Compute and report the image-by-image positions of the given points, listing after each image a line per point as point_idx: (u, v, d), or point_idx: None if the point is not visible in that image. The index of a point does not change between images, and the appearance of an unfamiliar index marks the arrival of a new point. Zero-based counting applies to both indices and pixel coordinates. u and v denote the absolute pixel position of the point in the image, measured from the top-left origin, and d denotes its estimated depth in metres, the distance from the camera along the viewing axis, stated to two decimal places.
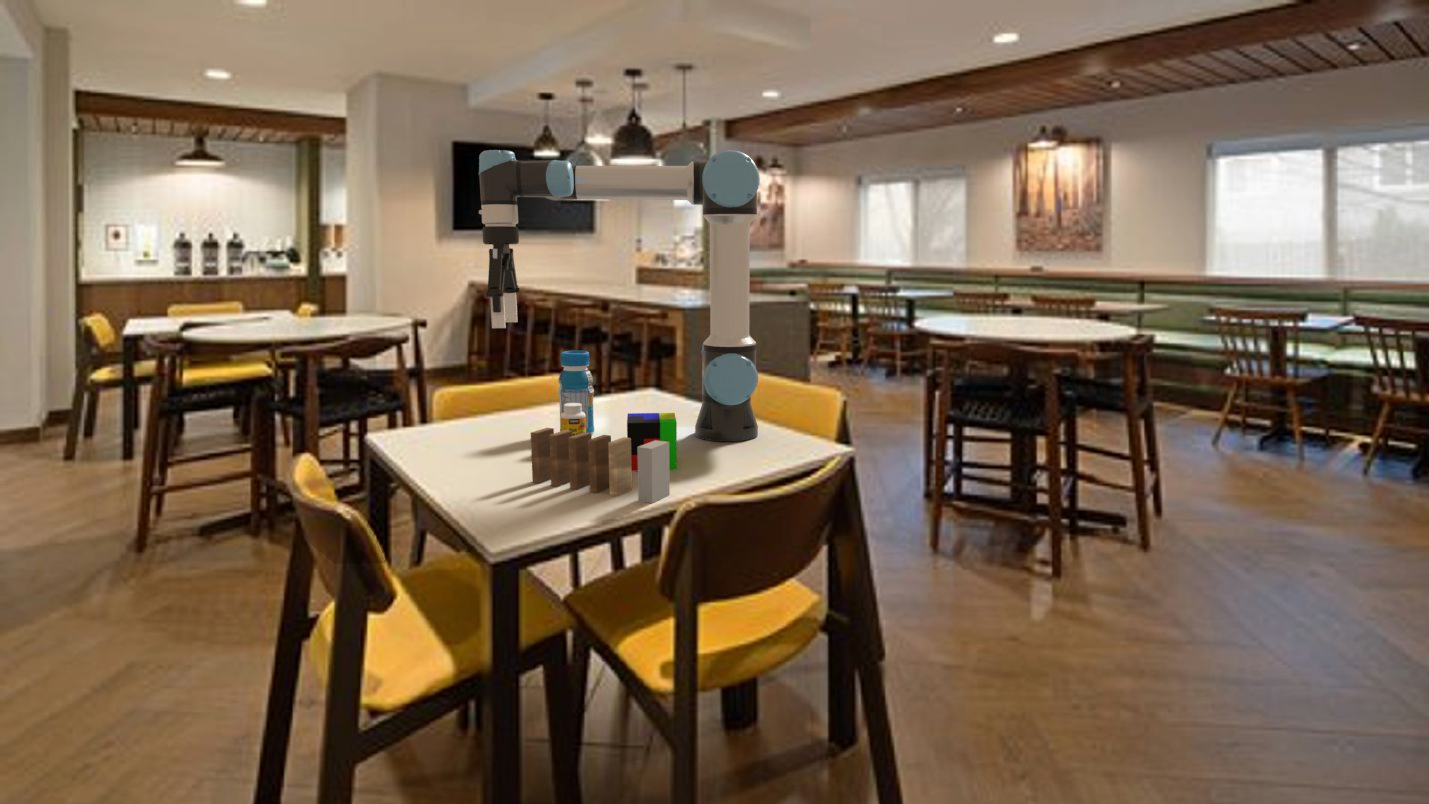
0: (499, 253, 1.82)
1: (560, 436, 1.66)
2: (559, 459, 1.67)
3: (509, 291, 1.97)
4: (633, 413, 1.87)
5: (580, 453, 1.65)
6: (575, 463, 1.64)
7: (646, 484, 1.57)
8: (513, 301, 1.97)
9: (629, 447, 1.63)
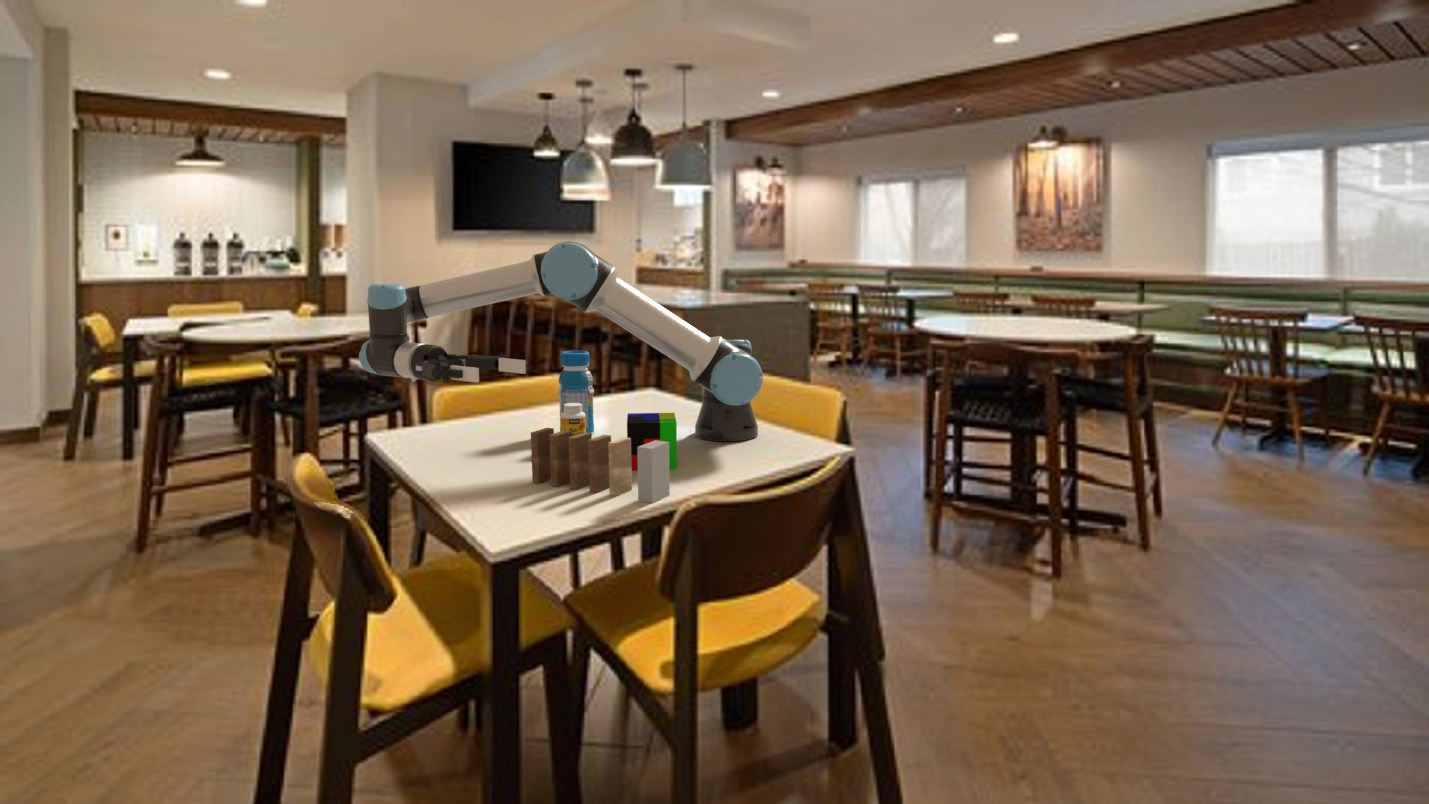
0: (417, 363, 1.74)
1: (560, 436, 1.66)
2: (559, 459, 1.67)
3: None
4: (633, 413, 1.87)
5: (580, 453, 1.65)
6: (575, 463, 1.64)
7: (646, 484, 1.57)
8: (505, 361, 1.80)
9: (629, 447, 1.63)
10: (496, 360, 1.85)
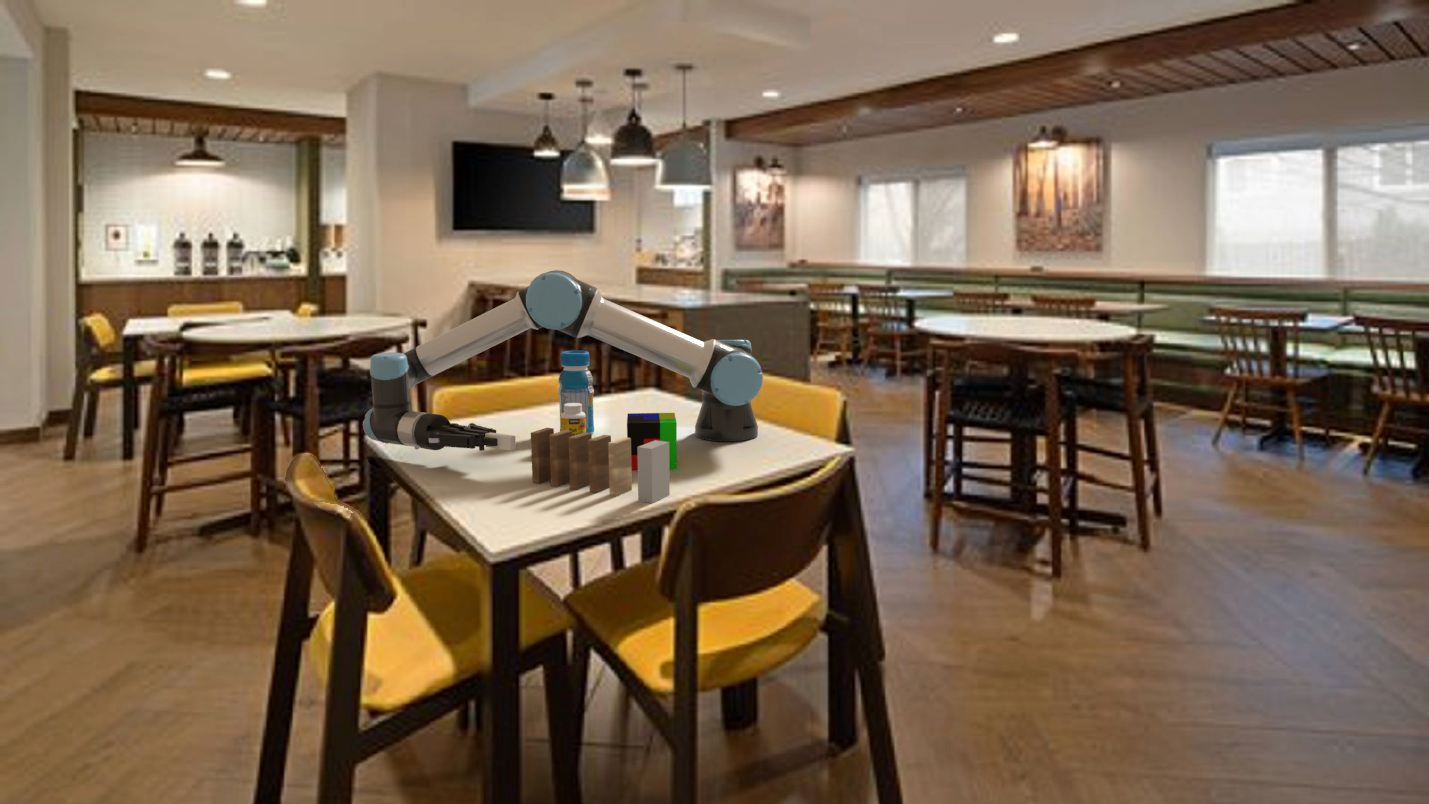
0: (433, 436, 1.76)
1: (560, 436, 1.66)
2: (559, 459, 1.67)
3: None
4: (633, 413, 1.87)
5: (580, 453, 1.65)
6: (575, 463, 1.64)
7: (646, 484, 1.57)
8: None
9: (629, 447, 1.63)
10: None
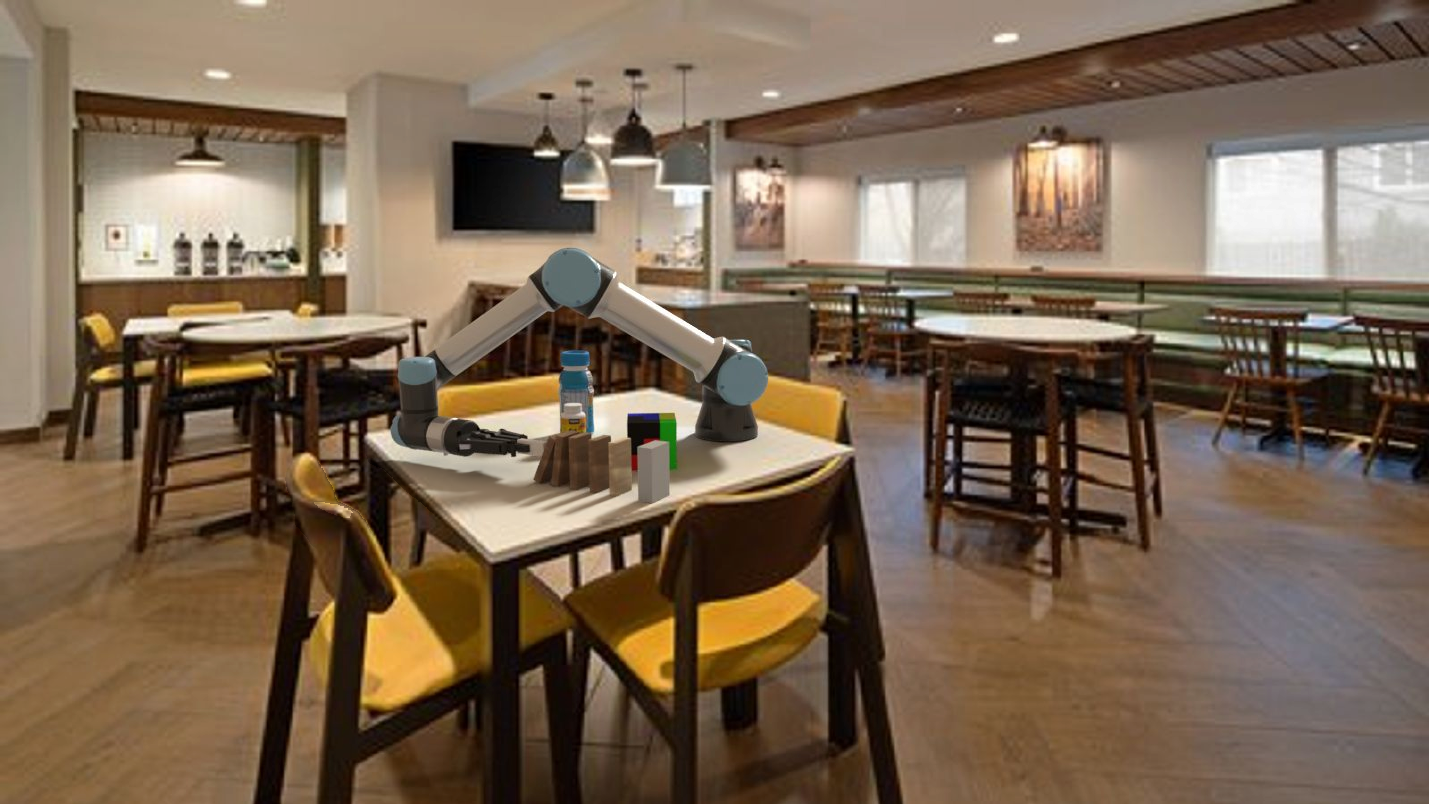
0: (464, 442, 1.72)
1: (566, 438, 1.66)
2: (562, 459, 1.66)
3: None
4: (633, 413, 1.87)
5: (580, 453, 1.65)
6: (575, 463, 1.64)
7: (646, 484, 1.57)
8: None
9: (629, 447, 1.63)
10: None
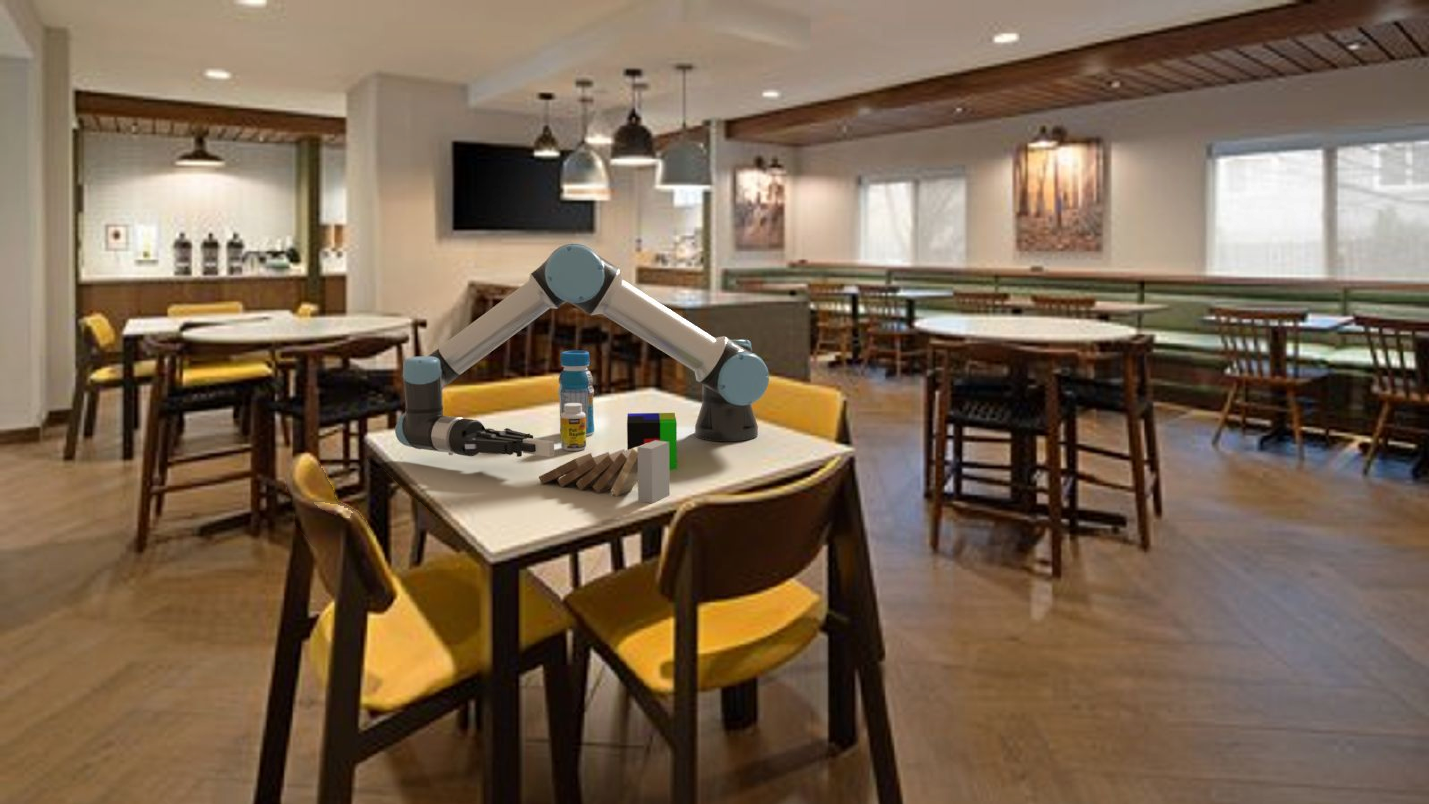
0: (469, 442, 1.71)
1: None
2: (582, 474, 1.65)
3: None
4: (633, 413, 1.87)
5: (606, 469, 1.63)
6: (596, 475, 1.62)
7: (646, 484, 1.57)
8: None
9: None
10: None
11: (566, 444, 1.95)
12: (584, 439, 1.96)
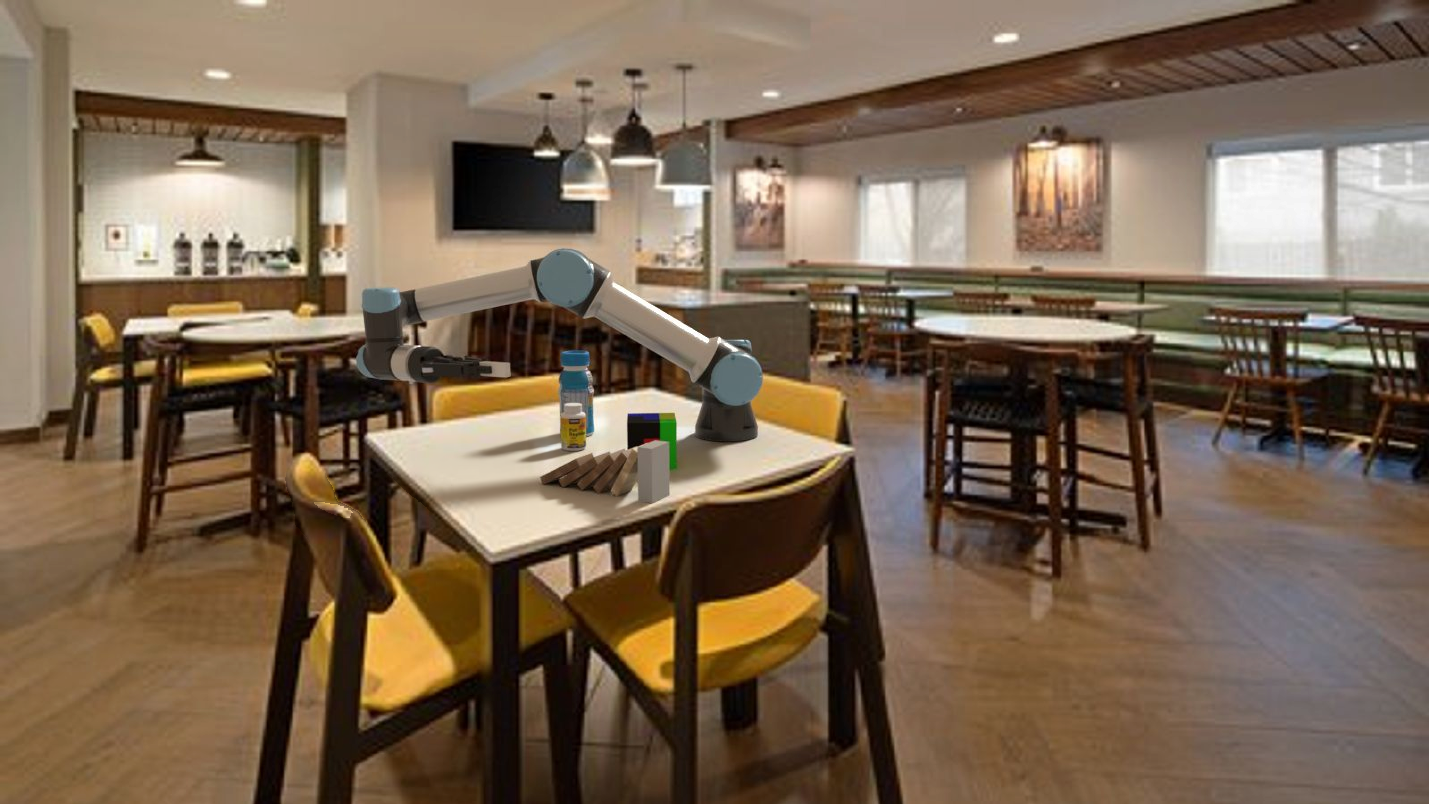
0: (426, 365, 1.73)
1: None
2: (583, 474, 1.65)
3: None
4: (633, 413, 1.87)
5: None
6: (597, 474, 1.62)
7: (646, 484, 1.57)
8: None
9: None
10: None
11: (566, 443, 1.95)
12: (584, 439, 1.96)
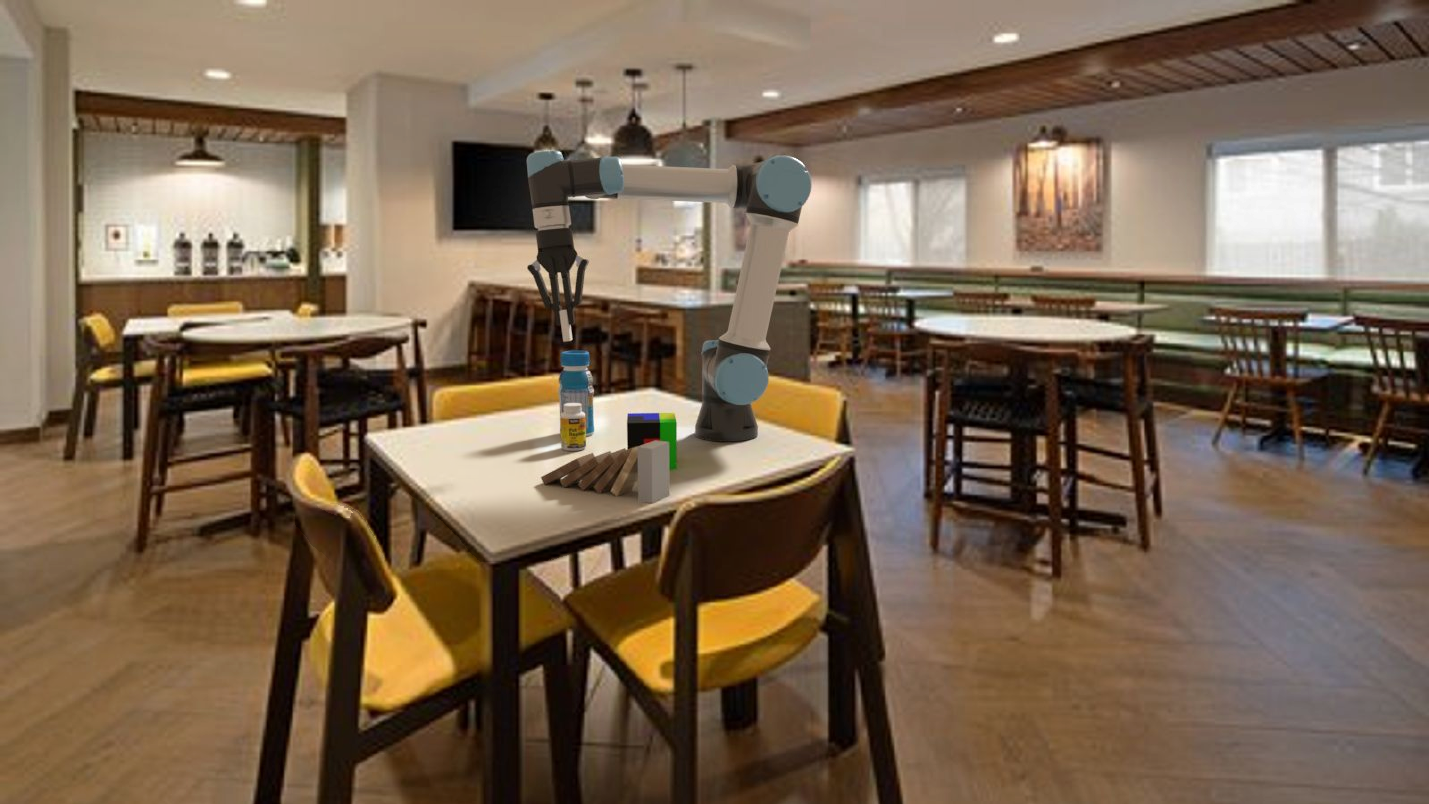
0: None
1: None
2: (584, 474, 1.65)
3: (560, 306, 1.86)
4: (633, 413, 1.87)
5: (608, 468, 1.63)
6: (598, 474, 1.62)
7: (646, 484, 1.57)
8: None
9: None
10: None
11: (566, 444, 1.95)
12: (584, 439, 1.96)
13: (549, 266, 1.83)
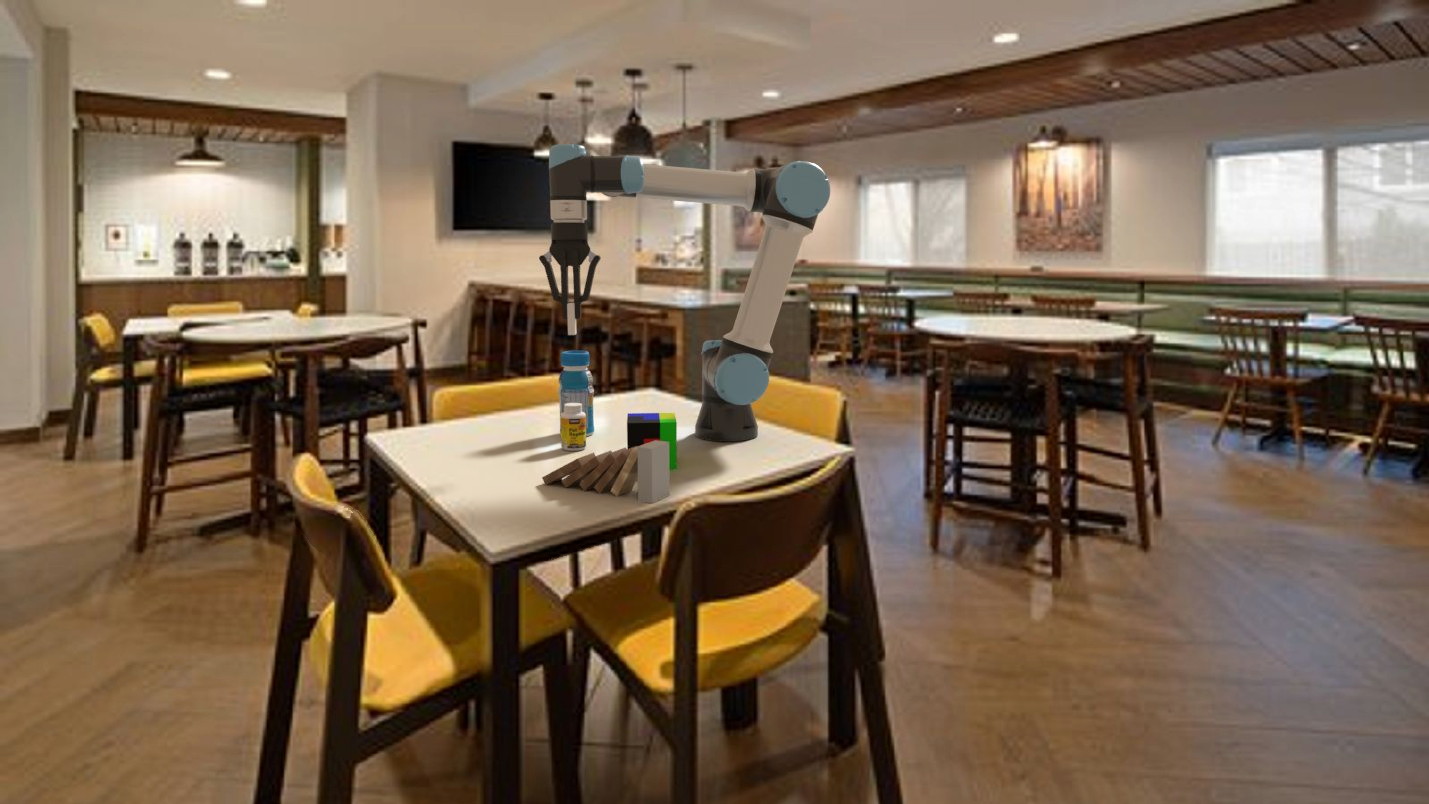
0: None
1: None
2: (585, 474, 1.64)
3: (568, 299, 1.86)
4: (633, 413, 1.87)
5: None
6: (599, 474, 1.62)
7: (646, 484, 1.57)
8: None
9: None
10: None
11: (567, 443, 1.95)
12: (584, 439, 1.96)
13: (561, 259, 1.83)
